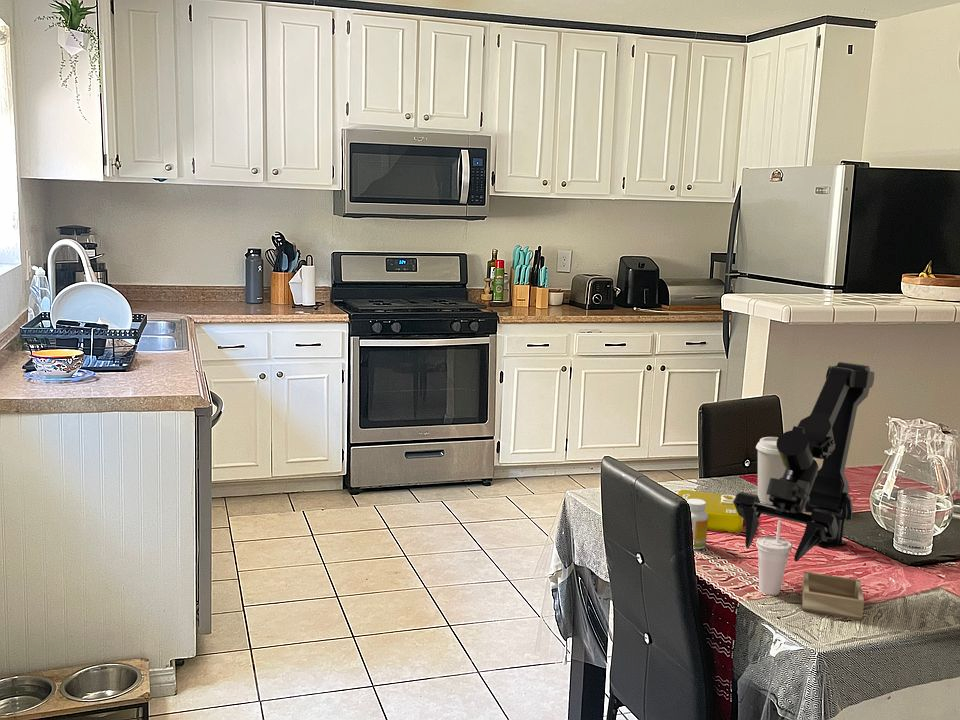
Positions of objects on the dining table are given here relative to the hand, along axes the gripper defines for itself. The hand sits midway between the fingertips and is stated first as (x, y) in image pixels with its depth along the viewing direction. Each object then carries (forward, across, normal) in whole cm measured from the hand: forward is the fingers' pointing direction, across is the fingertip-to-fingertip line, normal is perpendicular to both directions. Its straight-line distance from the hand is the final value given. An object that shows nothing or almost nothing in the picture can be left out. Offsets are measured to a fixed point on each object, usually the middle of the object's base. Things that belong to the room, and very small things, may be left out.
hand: (770, 553), depth 172 cm
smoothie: (+5, 0, +7) cm, 8 cm away
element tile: (-16, -25, +28) cm, 40 cm away
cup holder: (+3, +11, +8) cm, 14 cm away
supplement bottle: (-3, -21, +15) cm, 26 cm away
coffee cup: (-32, -18, +43) cm, 57 cm away
